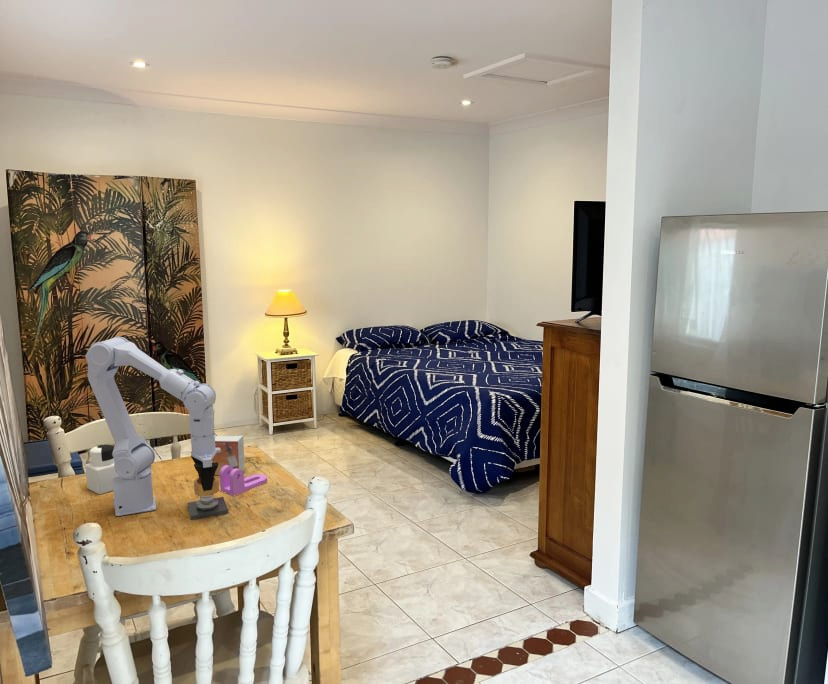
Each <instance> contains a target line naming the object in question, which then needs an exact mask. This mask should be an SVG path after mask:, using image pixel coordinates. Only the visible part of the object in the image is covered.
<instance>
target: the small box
mask: <svg viewBox="0 0 828 684" xmlns="http://www.w3.org/2000/svg"><path fill="white" fill-rule="evenodd" d="M244 441H245V440H244V435H215V448H220V449H221V452H218V453H216V454H215V456H214V457H213V459H212V463H215V462H218V468H217V470H216V472H215V475H214V476H220V470H221V468H222V467H223V466H225V465H228V466H231V467H233V469H236V468H237V469H240V470H242V471H243V472H244V470H245V468H246V467H245V443H244ZM226 474H227V473H226Z"/></svg>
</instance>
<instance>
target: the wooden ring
mask: <svg viewBox="0 0 828 684" xmlns="http://www.w3.org/2000/svg"><path fill="white" fill-rule="evenodd" d="M193 488H194V495H196V496H198V497H200V496H209V495H213V496H214V495H215V494H217V493H218V492H219V491H220V482H219V478H218V477H217V476H216V475H214V481H213V488H212V490H208V491H203V488H202V485H201V481H200V478H199V477H197V478H196V479H195V480H193Z"/></svg>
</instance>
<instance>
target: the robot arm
mask: <svg viewBox="0 0 828 684" xmlns="http://www.w3.org/2000/svg"><path fill="white" fill-rule="evenodd" d="M85 359H86V362H87V379H88V382H89V384H90V387H91V389H92V392H93V394H94V397H95V398H96V401H97V404H98V406H99V408H100V411H101V413H102V415H103V417H104V420H105V422H106V425H107V427H108V429H109V432H110V433H111V436H112V439H113V441H114V445H113V446H114V449H113V453H112V455H113V458H114V468H115V471H116V473H117V474H118V475H119V476H118V477H114V478H113V491H112V492H113V499H112V501H113V503H112V505H113V507H114V511H115V512H114V513H115V516H116V517H120V516H121V517H122V516H126V515H133V514H139V513H140V514H141V513H145V512H151V511H156V510H157V506H156V505H157V504H156V498H155V497H154V491H153V488H154V487H153V478H152V465H153V463H154V462H155V459H156V453H155V451H154V449H153V447H151V446H150V445H149V443H148V442H147V441H146V438H145V437H143V436H141V435H140V434H138V433H137V430H136V428H135V426H134V423H133V422H132V418H131V416H130V414H129V412H128V409H127V407H126V405H125V402H124V400H123V399H124V398H123V397H122V395H121V393H120V392H121V391H120V390H119V387H118V385H117V383H116V380H115V378H114V377H115V375H116V373H117V371H118V370H119V368H120V367H125V366H126V367H127V366H131V367H133V368H134V369H137V370H138V371H140V372H142V373H144V374H146V375H148V376H149V377H151V378H153V379H155V380H157V381H158V382H159V384H160V385H159V386H160V388H161V389H162V390H164V392H165V391H166V392H167V393H169V394H170V395H172V396H173V397H175V398H177V399H178V400H179V401H180V402H182V403H183V405H184V407H185V408H186V410H187V411H188V413H189V415H188V417H189V429H190V444H191V451H190V457H191V460H192V461H193V463H194V464H193V468H194V469H195V471H196V472H197V476H198V478H200V481H201V485H202V488H203V491H208V490H212V488H213V481H214V476H216V475H215V472H216V470H217V468H218V462H215V463H212V459H213V457H214V456H215V454H216V453H218V452H221V449H220V448H215V437H216V434H215V418H214V407H213V404H214V402H215V401H216V398H217V395H216V391H215V389H214V388H213V387H212V386H211V385H210V384H208V383H200V382H199V381H198V380H194V379H193V378H191V377H190V376H187V375H186V374H185V373H184V370H182V369H180V368H179V369H177V368H172V369H171V368H170V369H167V367H164V366H163V365H162V364H161V363H160V362H158V361H156V360H155V359H153V358H152V357H150V356H149V355H148V354H146V353H145V352H144V351H142V350H141V349H139V348H138V347H137V345H136V344H135V343H134V342H132V341H130V340H128V339H127V338H125V337H122V336H114V337H112V338H110V339H107V340H102V341H97V342H93V344H92V345H90V347H89V349H88V350H87V352H86V354H85Z"/></svg>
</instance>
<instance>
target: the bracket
mask: <svg viewBox="0 0 828 684" xmlns="http://www.w3.org/2000/svg"><path fill="white" fill-rule="evenodd" d="M226 473H227V474H226ZM266 482H267V483H268V476H267V475H266V474H261V473H260V474H259V473H258V474H252V475H248V476H247V477H245V473H244V470H243V471H242V470H240V469H237V468H236V469H233V467H231V466H228V465H225V466H223V467H222V468H221V470H220V475H219V488H220V492H221V491H223V492H222V493H224V492H226V493H228V494H227V495H229V494H231V495H230V496H232V495H233V497H235V496H238V495H240V494H239V493H241V494H242V492H243V493H245V492H244V491H246V492H248V491H251V490H253V489H255V487H256V488H258V487H261V486H263V485H265V484H267V483H266ZM260 485H261V486H260ZM257 486H258V487H257ZM252 488H253V489H252ZM250 489H251V490H250ZM247 490H248V491H247ZM226 493H225V494H226ZM237 494H238V495H237ZM234 495H235V496H234Z"/></svg>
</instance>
